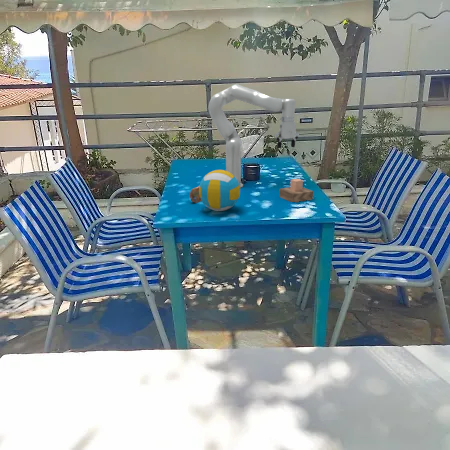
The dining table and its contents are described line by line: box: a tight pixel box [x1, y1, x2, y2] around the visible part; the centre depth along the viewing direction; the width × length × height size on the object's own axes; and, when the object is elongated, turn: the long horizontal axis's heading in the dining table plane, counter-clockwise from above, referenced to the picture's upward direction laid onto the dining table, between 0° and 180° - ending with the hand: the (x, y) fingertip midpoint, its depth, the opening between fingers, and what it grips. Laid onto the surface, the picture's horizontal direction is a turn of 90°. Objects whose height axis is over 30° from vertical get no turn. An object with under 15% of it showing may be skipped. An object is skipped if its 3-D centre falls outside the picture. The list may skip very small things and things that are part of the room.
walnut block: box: [279, 186, 314, 203], centre depth 244 cm, size 14×14×5 cm
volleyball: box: [198, 169, 241, 212], centre depth 220 cm, size 22×22×22 cm
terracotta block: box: [289, 178, 304, 191], centre depth 242 cm, size 5×5×6 cm
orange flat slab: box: [189, 185, 202, 204], centre depth 240 cm, size 15×3×8 cm, turn 148°
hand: (286, 147), depth 260 cm, fingers open, 9 cm apart
